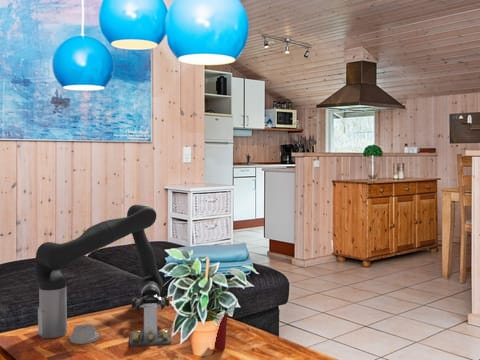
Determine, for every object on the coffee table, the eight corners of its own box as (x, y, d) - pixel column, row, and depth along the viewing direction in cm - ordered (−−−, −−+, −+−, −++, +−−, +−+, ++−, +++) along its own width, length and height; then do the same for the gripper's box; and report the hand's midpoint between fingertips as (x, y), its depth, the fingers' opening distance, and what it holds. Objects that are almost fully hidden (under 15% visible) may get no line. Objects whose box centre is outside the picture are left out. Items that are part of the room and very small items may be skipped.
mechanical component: (84, 332, 185) (63, 341, 176) (84, 320, 185) (63, 329, 176) (105, 337, 180) (84, 346, 171) (104, 325, 180) (84, 334, 171)
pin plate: (129, 346, 171) (129, 334, 171) (130, 333, 183) (130, 323, 183) (171, 343, 174) (171, 332, 174) (169, 331, 186) (169, 321, 185)
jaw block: (144, 338, 176) (143, 307, 175) (144, 334, 180) (144, 303, 180) (157, 337, 177) (157, 307, 176) (156, 333, 181) (156, 303, 180)
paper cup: (230, 344, 174) (230, 304, 173) (224, 353, 166) (225, 311, 165) (208, 342, 175) (208, 302, 175) (202, 350, 168) (202, 309, 167)
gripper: (132, 286, 202) (130, 298, 186) (168, 285, 204) (169, 296, 188) (132, 305, 202) (131, 318, 186) (168, 303, 205) (169, 316, 189)
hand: (150, 307), depth 187 cm, fingers open, 8 cm apart
